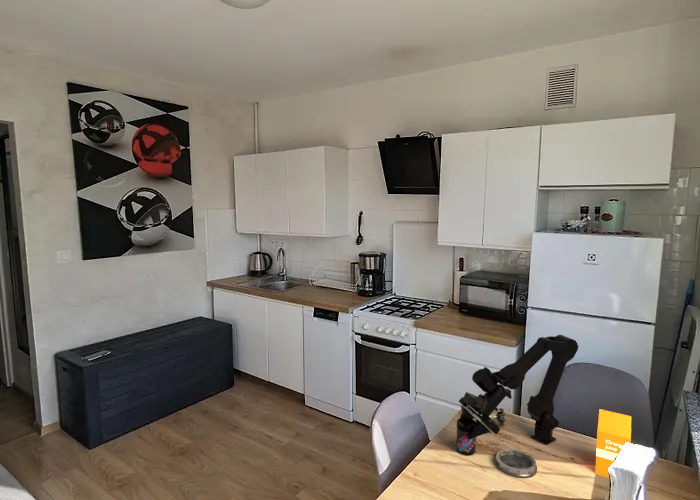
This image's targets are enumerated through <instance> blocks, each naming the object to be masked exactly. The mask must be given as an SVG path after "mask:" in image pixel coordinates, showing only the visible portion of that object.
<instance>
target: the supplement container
mask: <svg viewBox="0 0 700 500" xmlns="http://www.w3.org/2000/svg"><path fill="white" fill-rule="evenodd" d="M475 425H476V422H475V421H474V420H473V419H469V418H457V420H456V439H455V440H456V446H455V447H456V448H455V449H456V450H457V452H458V454H461V455H463V456H473V455H474V454H476V452H477V437H475V438H472V439H470V440H469V439H468V438H467V436H468V435H469V433H470V432H471V431H472V429H473V428H474V427H475Z"/></svg>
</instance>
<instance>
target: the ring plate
mask: <svg viewBox="0 0 700 500" xmlns="http://www.w3.org/2000/svg"><path fill="white" fill-rule="evenodd" d="M536 463H537V461H536V460H535V459H534V457H533V456H532V455H530V454H528V452H527V453H526V452H525V451H522V450H518V449H514V448H504V449H501V450H499V451H497V453H496V456H495V458H494V465H495V467H496V468H497V469H498V470H499V471H500V472H501V473H503V474H505V475H507V476H508V477H509V476H510V477H512V478H516V479H529V478H532V477H534V476H536V474H537V473H538V466H537V464H536Z"/></svg>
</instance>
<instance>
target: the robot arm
mask: <svg viewBox="0 0 700 500" xmlns="http://www.w3.org/2000/svg"><path fill="white" fill-rule="evenodd" d="M578 350H579V344H578V342H577V340H575V339H574V338H571V337H568V336H565V335H563V334H557V335H555V336H554V335H553V336H552V335H550V336H546V337H545V336H542V337H539V338H538V339H537V340H536V341H535V343H534V344H533V345H532V346H531V347H529V348H528V350H526V351H525V352H524V353H523V354H522V355H521V356H520V357H519V358H518V359H517V360H516V361H515V362H513V363H510V364H509V363H508V364H507V365H505V366H504V367H502V368H500V370H499V371H494V372H492V371H491V370H490V369H489V368H488V367H487V366H484V367H483V368H480V369H478V370H477V371H474V373H472V374H473V375H472V377H471V378H472V381H473V383H474V384H475V385H476V386H477V387H478V388H479V389H480V390H481V391H482V392H484V394H482V393H480V394H479V395H475V394H473V393H471V392H468V391H467V392H465V393H464V396H463V397H460V399H459V400H458V402H459V403H460V407H461V415H460V418H469V419H472V420H473V419H474V417H473V416H472V414H475V415H476V416H477V417H479V418H480V419H481V421H479V420H478V419H476V425H475V427H474V428H473V429H472V431H471V432H470V433H469V435H468V436H467V438H468V439H469V440H470V439H472V438H475V437H476V438H477V437H480V436H482V435H486V434H492V433H494V434H495V436H496V435H498V434H499V433H500V431H501V427H500V426H499V425H498V424H497V423H496V422H495V421H494V419H491V418H490V417H489V416H490V415H491V414H493V412H494V411H495V412H499V408H498V406H499V405H500V404H501V403H502V402H503V400H504V399H505V398H506V397H507V398H508V399H513V398H512V390H517V389H519V388H520V386H521V385H522V383H523V382H524V380H525V379H526V374H527V373H528V372H529V370H531V369H532V368H533V367H535V365H536V364H537V363H538V362H539V361H540V360H541V359H542V358H543V357H544V356H546V354H547V353H549V352H550V351H551V359H550V361H549V365H548V367H547V370H546V373H545V376H544V379H543V381H542V383H541V386H540V389H539V390H538V393H537V394H536V395H530V397H529V399H528V400H529V401H528V402H527V404H526V406H527V407H526V410H527V411H528V415H530V418H531V419H533V420H534V421H535V422H534V434H532V435H530V438H531V439H533V440H536V442H537V441H538V442H539V443H541V444H543V445H546V446H547V445H549V444H552V443H553V442H556V441H557V438H556V437H554V436H553V432H554V430H555V429H556V428H558V427H559V424H560V422H559V421H558V419H557V418H555V417H554V412H555V408H554V407H555V406H554V397H555V394H556V391H557V389H558V387H559V384H560V381H561V379H562V376H563V373H564V371H565V369H566V366H567V363H568V362H570V361H571V360H573V359H574V357H575V355H576V354H577V352H578ZM481 414H482V416H481ZM460 418H459V419H460Z"/></svg>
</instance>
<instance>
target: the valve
mask: <svg viewBox="0 0 700 500" xmlns="http://www.w3.org/2000/svg"><path fill="white" fill-rule="evenodd" d="M472 416H473V417H474V419H472V420H474V421H475V422H476V419H478V420H479V421H481V419H480V418H479V417H477V416H476V415H475V414H472ZM481 416H482V414H481ZM505 416H506V413H505V412H504V408H500V407H499V408H498V411H496V413H495V414H494V413H491V415H490V416H489V417H490V418H491V419H492V420H494V419H496V420H497V422H499V424H500V426H503V427H504V426H505V424H506V423H505V422H506V418H505Z"/></svg>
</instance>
